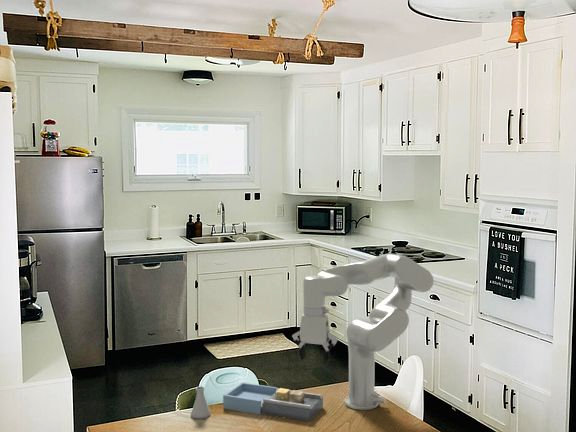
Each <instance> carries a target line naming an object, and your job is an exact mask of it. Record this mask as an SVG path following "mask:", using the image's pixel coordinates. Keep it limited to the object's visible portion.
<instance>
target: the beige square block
mask: <svg viewBox="0 0 576 432" xmlns="http://www.w3.org/2000/svg"><path fill="white" fill-rule="evenodd" d="M304 392H305V391H302V390H296V389H293V390H292V392H291V393H290V394H289V402H293V403H301V402H302V401H303V400H304Z"/></svg>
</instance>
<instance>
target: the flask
mask: <svg viewBox="0 0 576 432" xmlns="http://www.w3.org/2000/svg"><path fill="white" fill-rule="evenodd" d="M195 391H196V395H195V400H194V403H193V406H192V410H191V412H190V418H195V419H206V418H208V417H209V416H211V410H210V408H209V405H208V403H207V399H206V397H205V386H196V387H195Z"/></svg>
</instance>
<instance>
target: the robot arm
mask: <svg viewBox="0 0 576 432" xmlns="http://www.w3.org/2000/svg"><path fill="white" fill-rule="evenodd" d="M390 277H391V278H393V277H394V286H393V289H392V291H391V292H390V294H389V295H388V296H387V297H386V298H384V299H382V301H380V302H379V303H378V304H377V305H375V306H374V307H373V308H372V309H371V310H370V313H369V315H368V317H369V318H368V319H369V321H368V320H366V319H363V318H362V319H361V318H358V319H354V320H351V321H350V322H349V323H348V325H347V327H346V333H345V334H346V342H347V348H348V396H347V397H346V398H344V405H345V406H346V407H348V408H349V409H352V410H353V409H354V410H359V411H366V410H368V411H369V410H373V409H375V408H377V407H378V406H379V404H383V405H384V404H386V401H387V399H386V398H385V396H384V395H379V394H377V391H376V390H375V379H376V378H375V364H376V363H375V361H376V359H375V353H379V352H381V351H383V350H385V349H386V348H388V347H389V346H390V345H391V344H392V343H393V342H394V341H395V340H397V339H398V338H399V337H400V336H402V335H403V333H405V331H406V330H407V329H408V326H409V323H410V317H409V314H408V313H407V310H408V309H409V308H410V306H411V303H412V295H413V294H412V293H413V291H415V292H419V293H425V292H426V293H427V292H428V291H430V290H431V289H432V288H433V285H434V277H433V274H432V273H431V272H430V271H429V270H428V269H427V268H425V267H424V266H422V265H420V264H419V263H417V262H416V261H414V260H413V259H411V258H409V257H408V256H406V255H402V254H397V253H385V254H384V253H383V254H381V255H378V256H375V257H373V258H370V259H366V260H363V261H360V262H353V263H349V264H348V263H347V264H343V265H337V266H334V267H330V268H327V269H325V270H322V271H320V272H318V273H317V274H316V275H309V276H306V277H304V278H303V282H302V283H303V285H302V286H303V291H302V292H303V314H302V315H301V318H300V327H299V331H298V330H297V332H295V333H293V334H292V335H291V337H292V338H293V340H294V343H295V344H296V346H297V347H298V348H299V357H300V360H304V359H305V358H306V357H307V356H306V352H307V351H306V348H307V347H306V346H305V345H306V344H310V345H311V344H313V345H322V347H323V348H324V351H323V362H324V363H327V362H329V360H330V359H331V350H332V349H333V348H334V346H335V345H336V344H337V342H338V341H339V339H338V338H337V337H336V336H335V335H333V334H332V333H331V330H330V321H329V317H328V314H329V313H330V310H329V309H328V308H326V297H340V296H342V295H344V294H345V293H346V292H347V291H348V287H349V285H356V286H361V285H362V286H363V285H364V286H365V285H370V284H373V283H375V282H378V281H381V280H384V279H386V278H390ZM298 336H299V337H298ZM330 340H331V343H329V342H330Z"/></svg>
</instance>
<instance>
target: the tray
mask: <svg viewBox="0 0 576 432" xmlns="http://www.w3.org/2000/svg"><path fill="white" fill-rule="evenodd" d="M277 388H278V387H276V386H269V385H262V384H256V383H249V382H248V383H247V382H240V383H239V384H238V385H236V386H234V387H233V388H232V389H230V390H229V391H227V392H226V393H225V394H223V396H222V398H223V399H222V401H223V405H222V406H223V409H224V410H230V411H237V412H242V413H248V412H250V414H254V413H255V415H261V413H262V403H263V399H264V398H267V399H268V398H269V397H271V396H272V395H273V394H274V393H275V392H276V389H277Z"/></svg>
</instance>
